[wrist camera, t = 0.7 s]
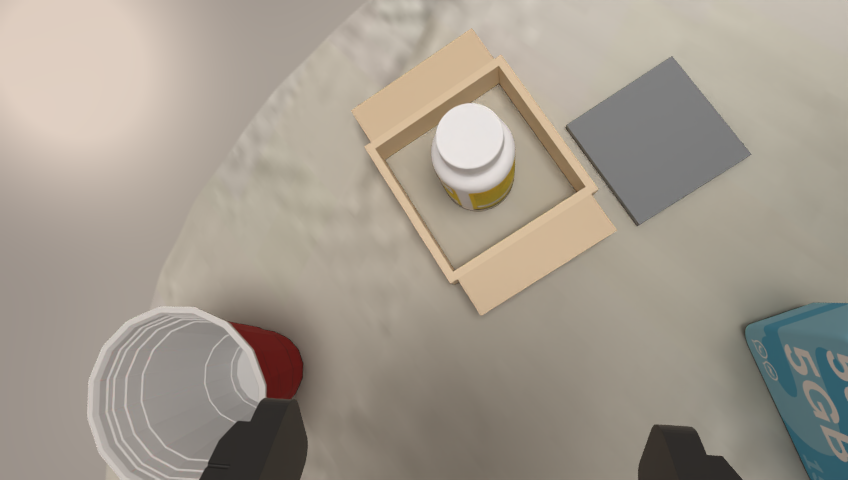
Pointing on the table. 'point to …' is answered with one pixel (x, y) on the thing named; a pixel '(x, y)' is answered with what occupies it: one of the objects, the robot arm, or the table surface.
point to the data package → (809, 381)
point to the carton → (478, 73)
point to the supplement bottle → (474, 156)
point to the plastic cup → (181, 389)
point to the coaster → (656, 141)
